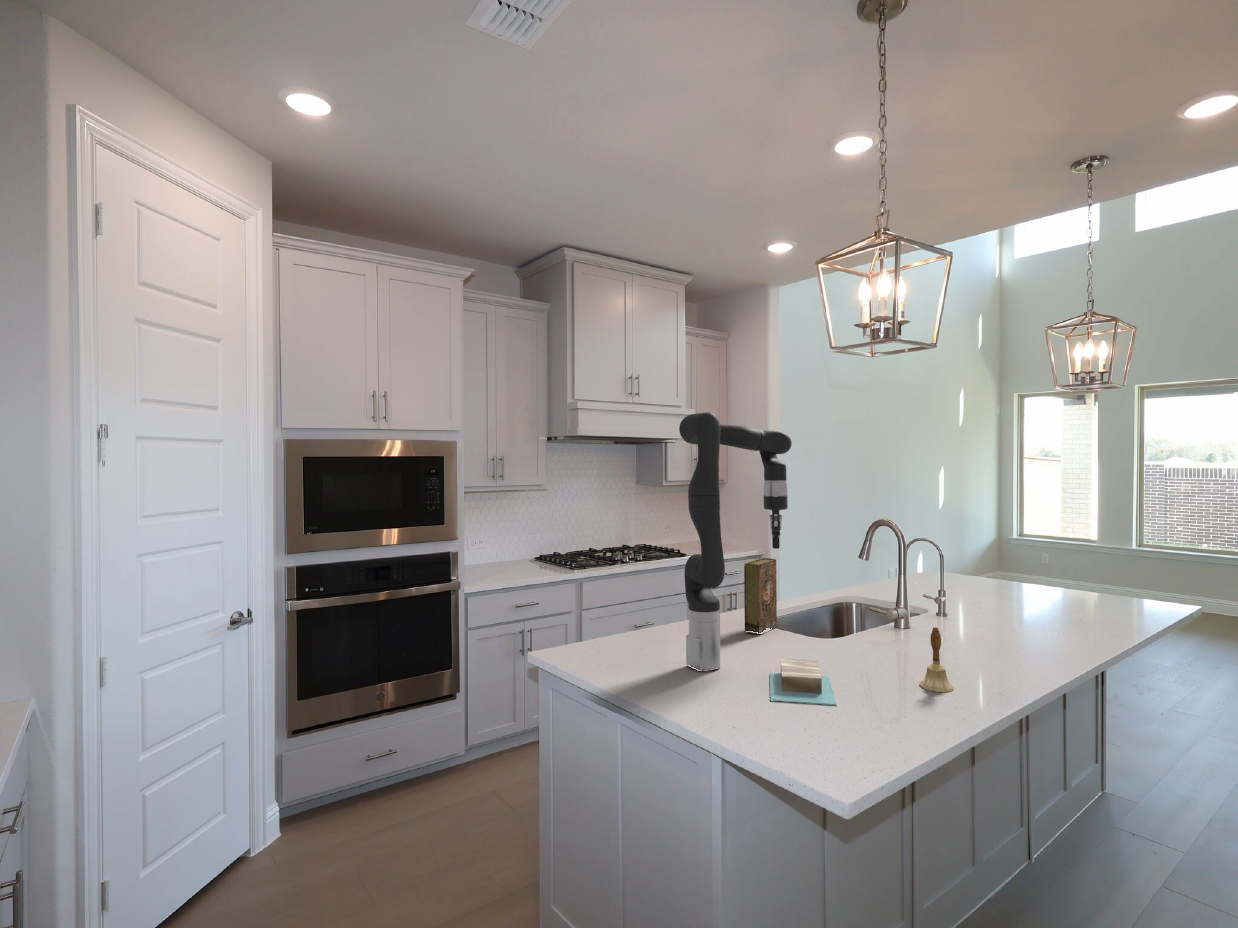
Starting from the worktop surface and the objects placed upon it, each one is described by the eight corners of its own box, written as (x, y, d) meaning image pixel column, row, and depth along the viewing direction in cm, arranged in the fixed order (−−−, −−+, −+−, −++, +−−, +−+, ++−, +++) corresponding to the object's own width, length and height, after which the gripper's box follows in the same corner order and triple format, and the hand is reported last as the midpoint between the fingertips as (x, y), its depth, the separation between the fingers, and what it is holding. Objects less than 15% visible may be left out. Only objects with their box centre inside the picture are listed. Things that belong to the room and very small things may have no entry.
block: (817, 674, 185) (821, 693, 169) (780, 672, 187) (782, 691, 172) (816, 660, 185) (821, 678, 169) (780, 658, 187) (781, 675, 172)
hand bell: (958, 693, 170) (957, 631, 170) (924, 691, 171) (923, 630, 171) (948, 682, 178) (947, 624, 178) (915, 681, 180) (915, 623, 180)
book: (764, 624, 245) (763, 557, 245) (778, 626, 241) (777, 558, 242) (744, 633, 232) (743, 563, 232) (759, 636, 228) (758, 564, 228)
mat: (836, 705, 162) (836, 703, 162) (770, 701, 165) (770, 699, 165) (828, 677, 183) (828, 675, 183) (770, 673, 187) (770, 672, 187)
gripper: (763, 493, 217) (764, 545, 217) (763, 495, 204) (763, 550, 204) (786, 493, 216) (787, 546, 216) (788, 495, 203) (788, 551, 203)
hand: (775, 548), depth 210 cm, fingers closed
